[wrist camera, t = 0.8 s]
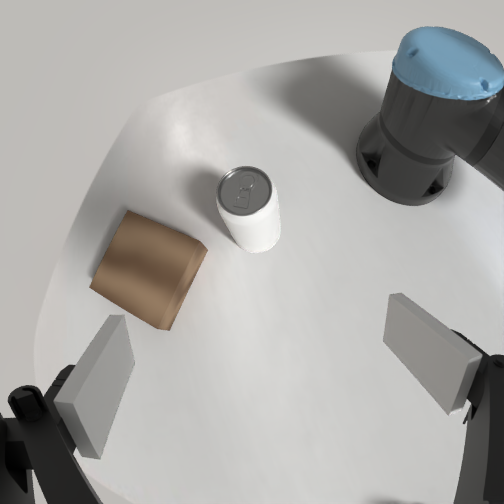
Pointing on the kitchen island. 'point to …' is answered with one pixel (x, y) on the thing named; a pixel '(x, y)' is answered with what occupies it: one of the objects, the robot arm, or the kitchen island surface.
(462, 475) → the robot arm
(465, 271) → the kitchen island surface
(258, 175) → the can
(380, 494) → the kitchen island surface
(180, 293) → the walnut stand
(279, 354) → the kitchen island surface
